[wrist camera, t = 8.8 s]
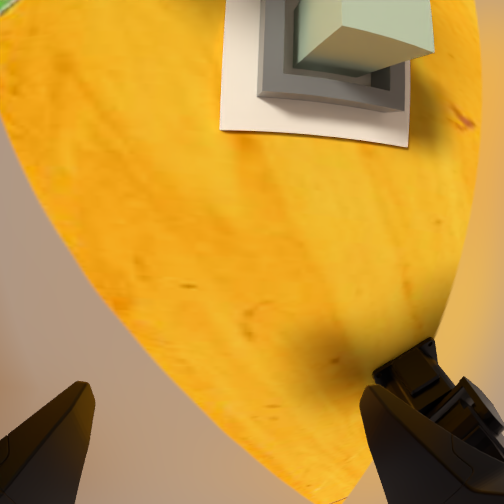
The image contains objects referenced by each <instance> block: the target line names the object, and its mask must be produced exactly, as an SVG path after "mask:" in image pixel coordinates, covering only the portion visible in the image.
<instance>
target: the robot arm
mask: <svg viewBox="0 0 504 504" xmlns="http://www.w3.org/2000/svg"><path fill="white" fill-rule="evenodd" d="M372 376H373V378H374V381H375V384H373V385H368V386H366V388H365V390H364V393H363V395H362V398H361V400H360V405H359V406H360V411H361V416H362V420H363V424H364V429H365V433H366V438H367V442H368V445H369V448H370V451H371V454H372V457H373V460H374V463H375V465H376V469H377V472H378V475H379V477H380V480H381V483H382V486H383V489H384V492H385V495H386V498H387V501H388V504H504V436H503V435H502V433H501V432H502V431H503V430H504V423H503V421H502V419H501V417H500V416H499V414H498V412H497V410H496V409H495V407H494V406H493V404H492V403H491V401H490V400H489V399H488V398H487V397H486V396H485V394H484V393H483V392H482V391H481V390H480V389H479V388H478V387H477V386H476V385H474V384H473V383H472V382H471V381H469V380H468V379H467V378H466V377H464V376H463V377H462V379H461V380H460V382H459V383H458V384H457V385H456V386H455V385H454V384H453V383H452V381H451V380H450V379H449V377H448V376H447V375H446V374H445V372H444V371H443V370H442V369H441V367H440V366H439V365H438V362H437V354H436V346H435V341H434V339H433V338H431V337H429V338H427V339H426V340H424V341H423V342H421V343H420V344H418V345H417V346H415V347H413V348H412V349H410V350H409V351H407V352H405V353H404V354H402V355H400V356H399V357H397V358H395V359H394V360H392V361H390V362H389V363H387V364H385V365H383V366H382V367H380V368H378V369H376V370H375V371H374V372H373V374H372ZM94 410H95V398H94V395H93V393H92V390H91V387H90V384H89V383H87V382H83V381H76V382H75V383H73V384H72V385H71V386H69V387H68V388H67V389H66V390H64V391H63V392H62V393H60V394H59V395H58V396H57V397H55V398H54V399H53V400H51V401H50V402H49V403H47V404H46V405H45V406H44V407H42V408H41V409H40V410H39V411H37V412H36V413H35V414H33V415H32V416H31V417H29V418H28V419H27V420H26V421H24V422H23V423H22V424H20V425H19V426H18V427H17V428H15V429H14V430H13V431H11V432H10V433H9V434H8V436H7V435H6V436H5V437H4V438H2V439H1V440H0V504H75V500H76V495H77V490H78V486H79V482H80V478H81V473H82V470H83V465H84V462H85V458H86V454H87V450H88V446H89V441H90V435H91V428H92V421H93V416H94Z"/></svg>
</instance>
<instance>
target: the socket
mask: <svg viewBox="0 0 504 504" xmlns="http://www.w3.org/2000/svg"><path fill="white" fill-rule="evenodd" d="M299 2H300V0H226V12H225V27H224V44H223V62H222V83H221V108H220V130H242V131H267V132H284V133H298V134H310V135H321V136H330V137H339V138H348V139H355V140H363V141H370V142H377V143H383V144H389V145H395V146H401V147H408V136H409V117H410V60H408V61H404V62H401V63H398V64H395V65H392V66H389V67H386V68H383V69H380V70H377V71H374V72H371V73H368V74H365V75H363V76H360V77H357V78H355V77H350V76H345V75H339V74H333V73H327V72H320V71H313V70H305V69H296V68H293V33H294V9H295V8H296V6H297V5H298V3H299Z"/></svg>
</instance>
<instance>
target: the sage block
mask: <svg viewBox="0 0 504 504" xmlns="http://www.w3.org/2000/svg"><path fill="white" fill-rule="evenodd" d="M432 53H434V37H433V25H432V15H431V7H430V0H300V2H299V3H298V5H297V6H296V8H295V9H294V33H293V68H296V69H305V70H313V71H320V72H327V73H333V74H339V75H345V76H350V77H355V78H357V77H360V76H363V75H365V74H368V73H371V72H374V71H377V70H380V69H383V68H386V67H389V66H392V65H395V64H398V63H401V62H404V61H408V60H411V59H414V58H418V57H421V56H425V55H428V54H432Z"/></svg>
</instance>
